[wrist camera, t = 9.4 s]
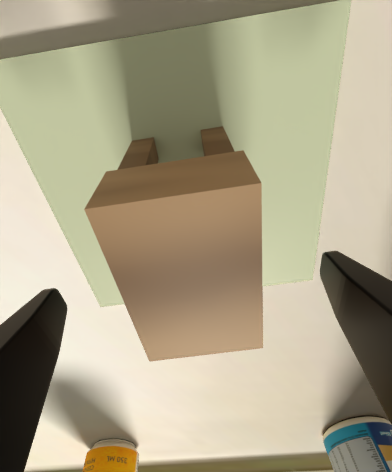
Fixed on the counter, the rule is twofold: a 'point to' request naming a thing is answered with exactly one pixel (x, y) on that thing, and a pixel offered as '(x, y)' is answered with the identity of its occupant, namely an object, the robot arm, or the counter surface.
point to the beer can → (112, 457)
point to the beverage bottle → (360, 445)
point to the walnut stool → (185, 247)
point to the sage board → (188, 120)
